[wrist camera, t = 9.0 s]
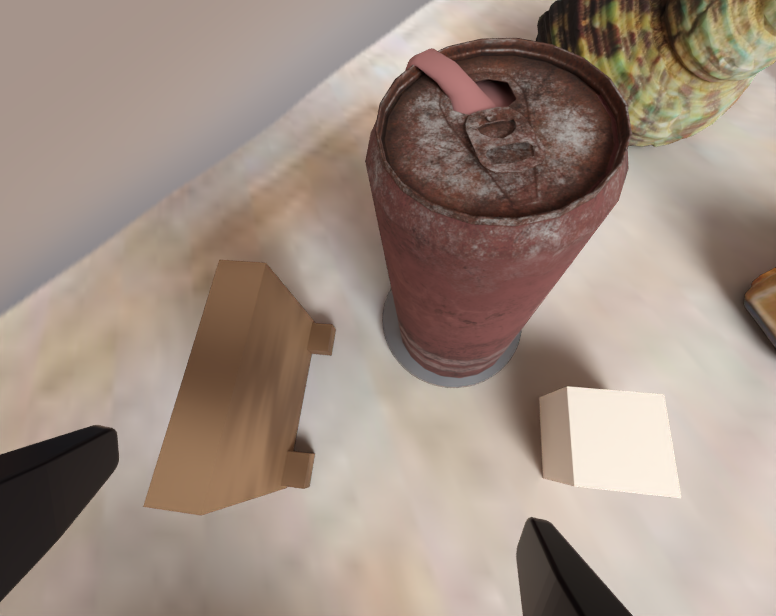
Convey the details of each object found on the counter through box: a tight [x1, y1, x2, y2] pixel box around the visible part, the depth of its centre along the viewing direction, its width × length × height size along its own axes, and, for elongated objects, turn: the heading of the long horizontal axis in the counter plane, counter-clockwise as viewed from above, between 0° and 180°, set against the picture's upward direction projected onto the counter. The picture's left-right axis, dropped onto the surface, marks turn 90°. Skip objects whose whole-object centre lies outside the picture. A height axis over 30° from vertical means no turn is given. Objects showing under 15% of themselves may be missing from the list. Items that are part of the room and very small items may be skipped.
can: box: [365, 38, 632, 378], centre depth 14 cm, size 6×6×14 cm
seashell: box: [536, 0, 776, 147], centre depth 22 cm, size 11×11×10 cm
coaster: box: [383, 289, 521, 388], centre depth 21 cm, size 8×8×1 cm
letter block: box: [539, 386, 681, 498], centre depth 17 cm, size 4×4×4 cm
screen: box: [143, 260, 336, 515], centre depth 17 cm, size 9×4×8 cm, turn 174°
